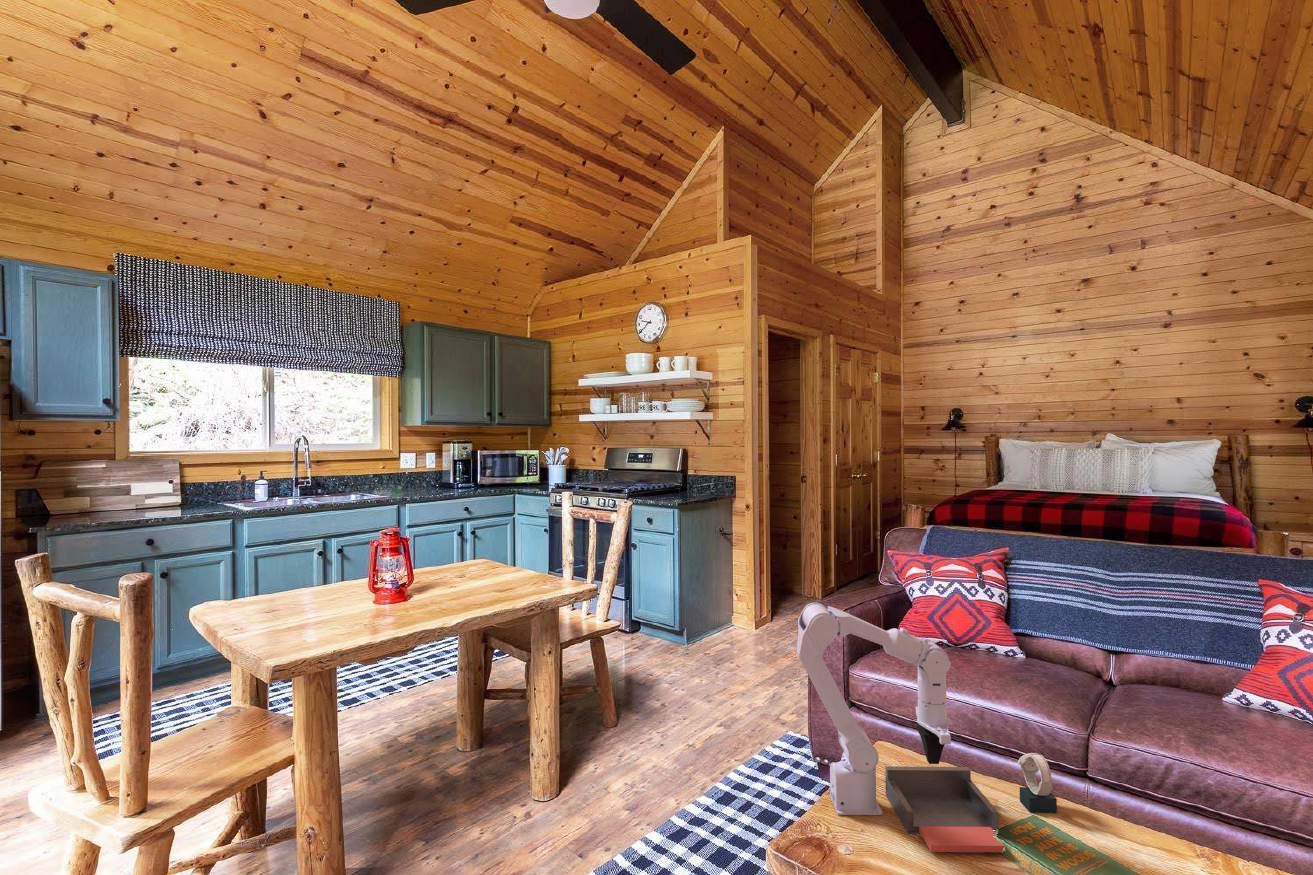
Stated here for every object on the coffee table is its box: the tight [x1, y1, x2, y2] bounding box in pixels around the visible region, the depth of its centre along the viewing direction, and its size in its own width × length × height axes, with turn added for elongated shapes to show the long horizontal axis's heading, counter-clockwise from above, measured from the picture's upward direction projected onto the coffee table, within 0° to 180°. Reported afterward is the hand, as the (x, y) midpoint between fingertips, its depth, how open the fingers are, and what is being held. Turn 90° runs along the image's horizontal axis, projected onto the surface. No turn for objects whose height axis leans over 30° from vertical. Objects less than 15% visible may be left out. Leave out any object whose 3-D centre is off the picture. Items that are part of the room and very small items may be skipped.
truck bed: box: [884, 765, 1000, 835], centre depth 137 cm, size 18×14×6 cm
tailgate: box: [919, 826, 1006, 854], centre depth 126 cm, size 14×2×6 cm
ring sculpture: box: [1017, 752, 1058, 814], centre depth 139 cm, size 6×8×11 cm
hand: (932, 762), depth 140 cm, fingers closed
